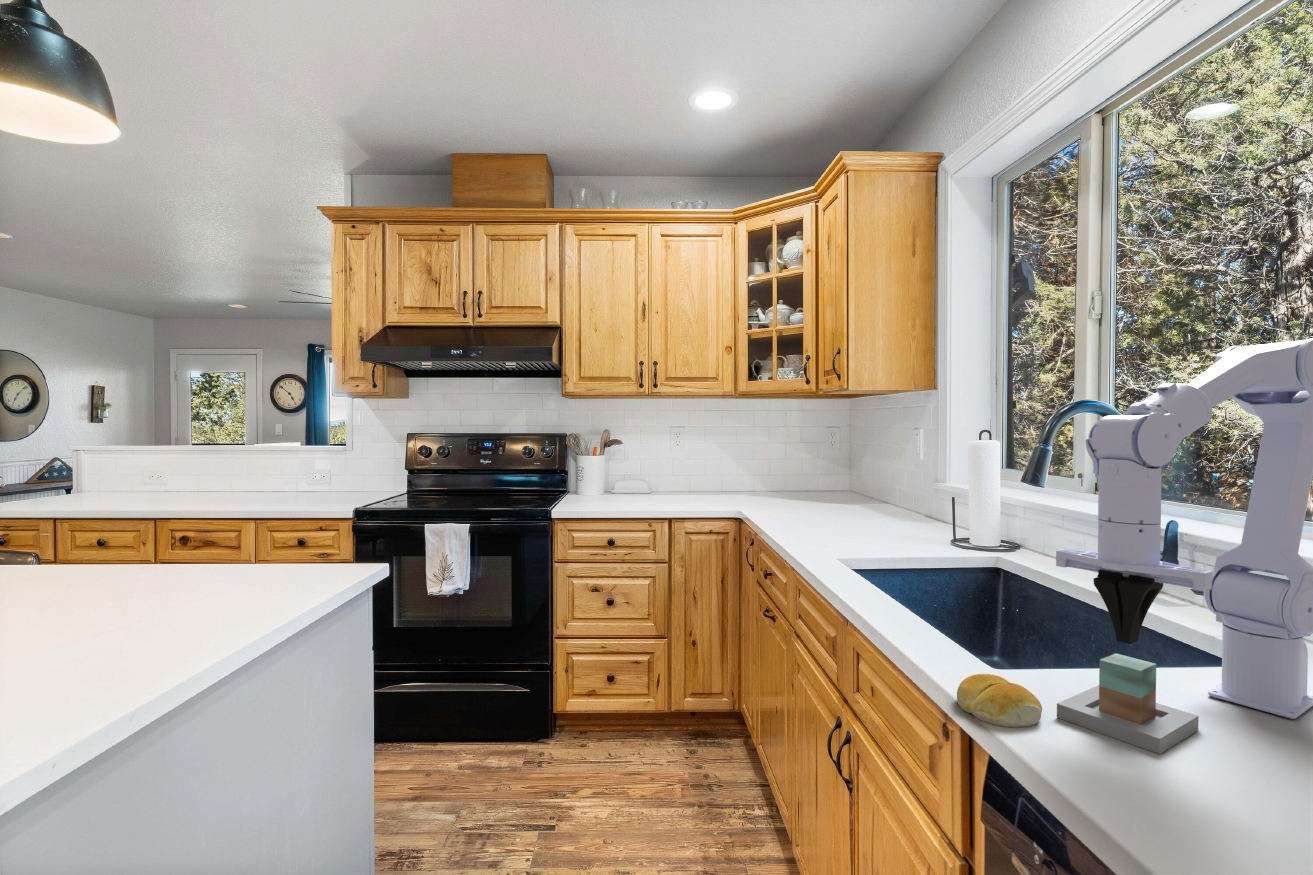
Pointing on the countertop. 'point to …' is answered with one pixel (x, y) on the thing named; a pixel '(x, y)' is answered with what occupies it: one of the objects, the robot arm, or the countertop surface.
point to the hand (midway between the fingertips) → (1127, 640)
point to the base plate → (1129, 722)
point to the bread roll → (998, 701)
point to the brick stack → (1127, 688)
